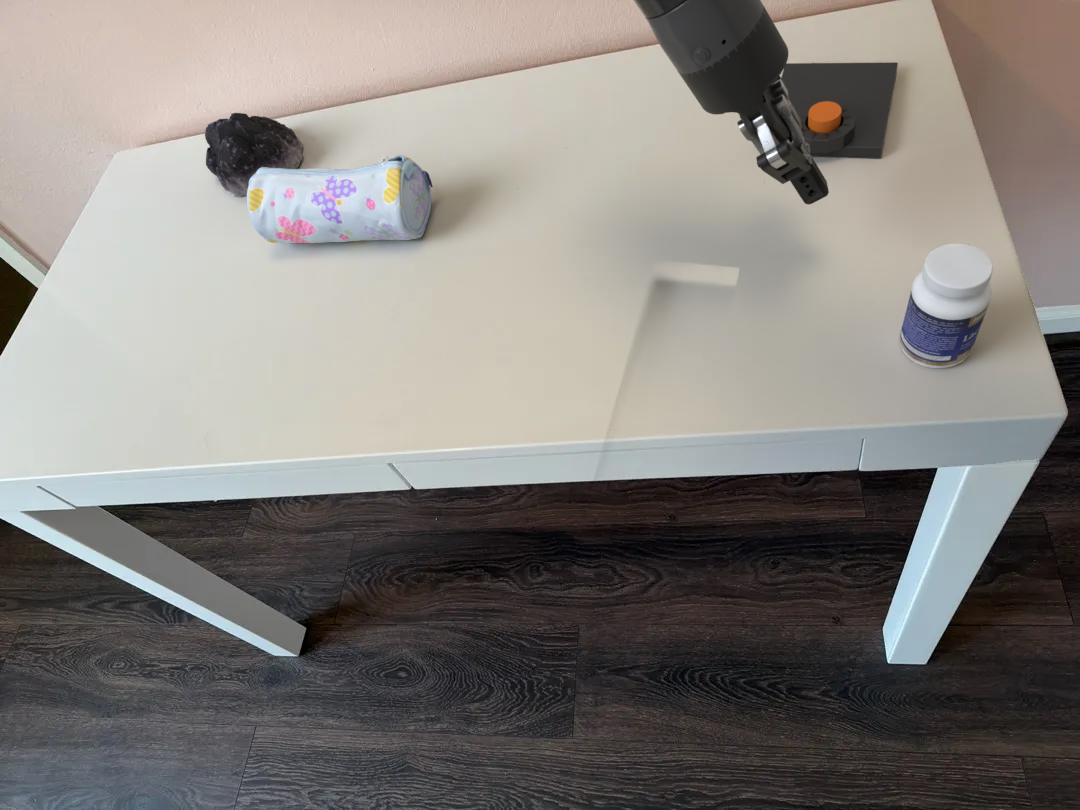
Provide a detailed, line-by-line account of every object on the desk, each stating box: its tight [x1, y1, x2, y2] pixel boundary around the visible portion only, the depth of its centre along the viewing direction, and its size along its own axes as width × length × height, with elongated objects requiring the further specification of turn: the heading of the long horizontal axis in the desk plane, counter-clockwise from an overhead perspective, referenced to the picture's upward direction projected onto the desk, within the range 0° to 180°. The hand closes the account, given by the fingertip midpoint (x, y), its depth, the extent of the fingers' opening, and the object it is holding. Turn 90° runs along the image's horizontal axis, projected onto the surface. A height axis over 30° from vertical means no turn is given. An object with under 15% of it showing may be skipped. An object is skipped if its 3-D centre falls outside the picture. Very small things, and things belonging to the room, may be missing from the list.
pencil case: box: [246, 154, 434, 244], centre depth 89 cm, size 21×9×10 cm, turn 81°
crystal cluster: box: [204, 112, 304, 198], centre depth 102 cm, size 13×14×10 cm
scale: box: [780, 62, 899, 159], centre depth 83 cm, size 12×15×3 cm
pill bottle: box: [899, 243, 994, 369], centre depth 62 cm, size 6×6×10 cm
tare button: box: [808, 101, 842, 133], centre depth 80 cm, size 3×3×2 cm
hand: (817, 195), depth 68 cm, fingers closed
